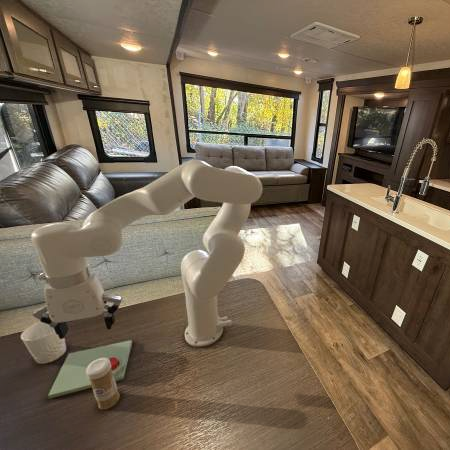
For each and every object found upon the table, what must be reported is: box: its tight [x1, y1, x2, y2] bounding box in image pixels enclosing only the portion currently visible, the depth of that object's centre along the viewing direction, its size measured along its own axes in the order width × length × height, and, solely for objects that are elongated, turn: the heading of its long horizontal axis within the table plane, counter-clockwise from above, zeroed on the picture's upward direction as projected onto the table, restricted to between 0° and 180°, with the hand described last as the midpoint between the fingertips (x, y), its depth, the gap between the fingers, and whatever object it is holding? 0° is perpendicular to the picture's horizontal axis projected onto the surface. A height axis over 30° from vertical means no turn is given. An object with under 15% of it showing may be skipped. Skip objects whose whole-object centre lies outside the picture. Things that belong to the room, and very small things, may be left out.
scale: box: [47, 339, 133, 399], centre depth 71 cm, size 16×13×3 cm
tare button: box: [109, 357, 118, 371], centre depth 69 cm, size 3×3×2 cm
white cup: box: [20, 321, 67, 365], centre depth 72 cm, size 8×8×10 cm
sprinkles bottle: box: [86, 358, 121, 411], centre depth 61 cm, size 5×5×14 cm
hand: (88, 329), depth 64 cm, fingers open, 9 cm apart
